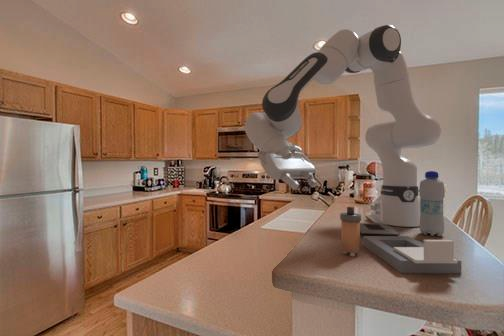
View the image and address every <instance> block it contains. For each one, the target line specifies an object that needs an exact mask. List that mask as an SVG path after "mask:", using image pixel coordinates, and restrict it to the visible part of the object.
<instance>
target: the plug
mask: <svg viewBox="0 0 504 336" xmlns="http://www.w3.org/2000/svg"><path fill="white" fill-rule="evenodd" d="M339 217H340V218H339V220H341V227H340V228H341V229H340V230H341V233H340V235H341V239H340V240H341V244H340V246H341V250H342V254H344V255H348V254H349V256H350V257H352V258H353V257H354V258H355V257H356V254H357V253H360V251H361V248H360V247H361V232H360V223H361V222H362V215H361V214H359V213H356V212H355V207H354V206H346V212H341V213H339Z"/></svg>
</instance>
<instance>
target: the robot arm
mask: <svg viewBox="0 0 504 336" xmlns="http://www.w3.org/2000/svg"><path fill="white" fill-rule="evenodd" d="M401 47H402V37H401V34H400V32H399V30H398V29H397V28H396V27H394V26H393V25H392V24H384V25H381V26H377V27H376V28H374V29H373V30H371V31H368V32H367V33H364V34H362V35H361V36H358V35H357V34H356V32H355V31H353V30H351V29H346V28H345V29H340V30H338V31H337V32H336V33H334V34H333V35H332V36H331V37H330V38H329V39H327V40H326V41H325V43H324V44H323V45H322V46H321V47H320V49H318V51H317V52H312V53H311V54H309V55H308V56H306V57H305V58H304V59H303V60H302V61H300V62H299V64H298V65H297V66H296V67H295V68H294V69H293V70H292V71H290V72H289V74H288V75H286V76H285V78H284V79H282V80H281V81H279V82H278V83H277V84H276V85H274V86H272V87H270V89H268V90H267V91H266V92H265V94H264V96H263V98H262V101H261V107H262V110H263V112H252V113H251V114H250V115H249V116H248V117H247V118H246V119H245V121H244V132H245V134H246V136H247V139H249V141H250V142H251V144H253V146H254V147H255V148H256V149H258V150H259V152H258V153H257V157H258V159H259V160H260V165H261V167H262V168H263V171H264V172H265V174H266V175H267V177H269V179H271V180H281V181H282V182H283V183H285V184H286V185H288V186H289V187H290V189H292V190H298V189H299V188H300V185H301V184H300V183H299V182H298V180H295V179H301V178H302V179H305V180H307V182H308V183H307V185H308V186H309V187H310V188H316V187H317V185H318V182H317V181H316V179H315V177H314V173H315V172H316V171H317V170H316V166H315V165H314V164H313V163H312V161H311V160H310V159H309V158H308V156H307V155H305V153H303V152H302V151H303V149H302V148H301V147H300V146H298V145H296V144H294V143H292V142H290V141H289V140H288V139H290V138H292V137H293V136H295V135H296V134H298V132H300V130H301V129H302V126H303V119H302V114H301V110H300V107H299V97H300V95H301V93H302V91H303V90H305V89H306V87H308V85H309V84H310V83H311V82H312V81H314V82H316V83H317V84H321V85H331V84H334V83H335V82H336V81H337V80H339V79H340V78H341V76H343V74H344V73H345V72H346V73H349V74H357V73H359V72H361V71H366V70H369V69H370V70H371V72H372V73H373V84H374V89H375V91H374V92H375V96H376V102H377V106H378V108H379V109H380V110H382V111H383V112H387V113H390V115H392V117H393V118H394V120H389V121H383V122H382V121H381V122H378V123H376V124H373V125H371V126H369V127H368V128H367V130H366V131H365V137H364V138H365V140H364V141H365V142H366V144H367V146H368V147H369V148H371V149H372V150H373V151H374V152H375V153H376V154H377V157H379V160H380V164H381V169H382V185H381V187H380V195H379V196H378V197H377V198H376V199H375V200H374V201H373V202H372V204H370V210H371V212H368V213H366V214H365V216H366V217H367V219H369V220H370V221H372V223H373V224H386V225H387V226H394V227H406V228H407V227H408V228H411V227H412V228H415V227H420V200H419V198H418V196H419V186H418V167H417V165H416V163H414V161H412V160H411V159H408V158H406V157H404V155H403V153H402V149H403V150H404V149H418V148H419V149H421V148H423V147H429V146H432V145H435V144H436V142H437V141H438V140H439V139H440V136H441V132H442V128H441V125H440V123H439V122H438V120H437V119H435V117H432V116H431V115H428V114H426V113H425V112H424V111H422V110H421V109H420V108H419V107H418V105H417V103H416V101H415V99H414V97H413V93H412V87H411V81H410V78H409V77H410V76H409V72H408V66H407V63H406V60H405V58H404V57H405V56H404V55H403V53H402V52H401Z"/></svg>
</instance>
